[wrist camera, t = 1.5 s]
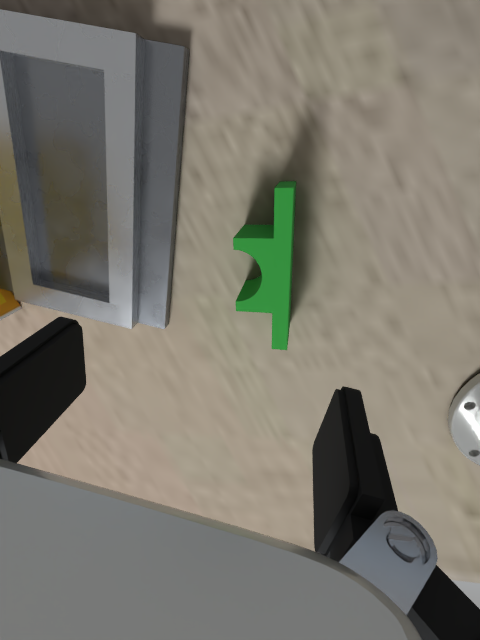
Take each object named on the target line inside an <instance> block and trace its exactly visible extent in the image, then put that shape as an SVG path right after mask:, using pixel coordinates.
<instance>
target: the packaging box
mask: <svg viewBox="0 0 480 640" xmlns="http://www.w3.org/2000/svg"><path fill="white" fill-rule="evenodd" d="M21 308H22V307H21V306H20V304H19V303H18V301H17V300H15V297H14V295H13V293H12V292H11V291H8V290H4V289H0V320H2V319H4V318H5V317H7V316H9V315H11V314H13V313H14V312H16V311H18V310H20V309H21Z"/></svg>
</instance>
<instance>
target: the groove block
mask: <svg viewBox="0 0 480 640" xmlns="http://www.w3.org/2000/svg"><path fill="white" fill-rule="evenodd" d="M188 64H189V50H188V49H187V48H186V47H184V46H179V45H174V44H168V43H162V42H157V41H151V40H146V39H144V38H142V37H141V36H139V35H138V34H136V33H132V32H126V31H120V30H115V29H109V28H103V27H98V26H92V25H86V24H81V23H75V22H69V21H64V20H58V19H52V18H47V17H41V16H35V15H30V14H24V13H18V12H13V11H7V10H1V9H0V289H4V290H8V291H12V292H14V297H15V300H18V301H22V302H26V303H30V304H34V305H38V306H42V307H46V308H50V309H54V310H58V311H62V312H66V313H70V314H74V315H78V316H82V317H86V318H90V319H94V320H98V321H102V322H106V323H110V324H114V325H118V326H122V327H126V328H130V329H132V328H133V327H134V326H135V325H136V324H137V323H142V324H146V325H150V326H154V327H158V328H162V329H165V328H166V327H167V325H168V324H169V312H170V299H171V286H172V273H173V260H174V247H175V234H176V221H177V208H178V195H179V182H180V169H181V156H182V142H183V129H184V116H185V103H186V90H187V77H188Z"/></svg>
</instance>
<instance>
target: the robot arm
mask: <svg viewBox="0 0 480 640" xmlns="http://www.w3.org/2000/svg"><path fill="white" fill-rule="evenodd" d="M85 386H86V374H85V360H84V346H83V333H82V327H81V326H80V325H79V323H78V322H77V321H76V320H73V319H69V318H65V317H58V318H56V319H55V320H54V321H52V322H51V323H49V324H48V325H46V326H45V327H43V328H42V329H40V330H39V331H37V332H36V333H34V334H33V335H31V336H30V337H29V338H27V339H26V340H24V341H23V342H21V343H20V344H18V345H17V346H15V347H14V348H12V349H11V350H9V351H8V352H6V353H5V354H3V355H2V356H1V357H0V640H480V609H479V608H478V607H477V606H476V605H475V604H474V603H473V602H472V601H471V600H470V599H469V598H468V597H467V596H466V595H465V594H464V593H463V592H462V591H461V590H460V589H459V588H458V587H457V586H456V585H455V584H454V583H453V582H452V581H451V579H450V578H449V577H448V576H447V575H446V574H445V573H444V572H443V571H442V570H441V569H440V568H439V567H438V566H437V565H436V563H437V550H436V547H435V545H434V542H433V540H432V538H431V537H430V535H429V534H428V532H427V531H426V530H425V529H424V528H423V527H422V526H421V525H420V523H419V522H417V521H416V520H414V519H413V518H412V517H410V516H409V515H406V514H404V513H402V512H399V511H398V509H397V505H396V501H395V497H394V493H393V489H392V485H391V481H390V477H389V473H388V470H387V466H386V462H385V458H384V454H383V450H382V446H381V442H380V439H379V437H378V436H377V435H376V434H372V433H370V430H369V426H368V421H367V417H366V413H365V408H364V404H363V399H362V395H361V392H360V390H356V389H352V388H348V387H342V388H341V390H338V389H336V390H335V392H334V394H333V397H332V399H331V402H330V404H329V407H328V409H327V412H326V414H325V417H324V419H323V422H322V424H321V426H320V429H319V431H318V434H317V436H316V439H315V441H314V445H313V453H312V454H313V500H314V546H315V551H316V552H314V551H311V550H309V549H306V548H303V547H300V546H298V545H295V544H292V543H289V542H286V541H282V540H279V539H276V538H273V537H270V536H266V535H263V534H260V533H257V532H254V531H250V530H247V529H244V528H241V527H237V526H234V525H230V524H227V523H223V522H220V521H217V520H213V519H210V518H206V517H203V516H199V515H196V514H193V513H189V512H186V511H182V510H179V509H175V508H172V507H169V506H165V505H162V504H158V503H155V502H151V501H148V500H144V499H141V498H137V497H134V496H130V495H127V494H123V493H120V492H116V491H113V490H109V489H106V488H102V487H99V486H95V485H92V484H88V483H85V482H81V481H78V480H74V479H71V478H67V477H64V476H60V475H56V474H53V473H49V472H46V471H42V470H38V469H35V468H31V467H28V466H24V465H21V464H17V462H18V461H19V460H20V459H21V458H22V457H23V456H24V455H25V454H26V452H27V451H28V450H29V449H30V448H31V447H32V446H33V445H34V444H35V443H36V442H37V441H38V439H39V438H40V437H41V436H42V435H43V434H44V433H45V432H46V431H47V430H48V429H49V428H50V426H51V425H52V424H53V423H54V422H55V421H56V420H57V419H58V418H59V417H60V416H61V414H62V413H63V412H64V411H65V410H66V409H67V408H68V407H69V406H70V405H71V404H72V403H73V401H74V400H75V399H76V398H77V397H78V396H79V395H80V394H81V393H82V392H83V390H84V388H85ZM448 426H449V431H450V433H451V436H452V438H453V440H454V442H455V444H456V445H457V447H458V449H459V450H460V451H461V452H462V453H463V454H464V456H465V457H467V458H468V459H470V460H471V461H473V462H474V463H476V464H477V465H480V373H479V374H478V375H476V376H475V377H473V378H472V379H471V380H470V381H469V382H468V383H467V384H466V385H465V386H463V387H462V388H461V390H460V391H459V392H458V394H457V395H456V397H455V398H454V400H453V402H452V404H451V407H450V409H449V415H448Z"/></svg>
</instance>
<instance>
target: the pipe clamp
mask: <svg viewBox="0 0 480 640" xmlns="http://www.w3.org/2000/svg"><path fill="white" fill-rule="evenodd" d="M295 196H296V181H286V182H279V183H278V185H277V186H276V187H275V188H274V225H244V226H243V227H242V228H241V229H240V231H239V232H238V233H237V234H236V235H235V237H234V238H233V245H234V250H241V251H244V252H246V253H248V254H249V255H251V256H252V257H253V258H254V259H255V260H256V261H257V263H258V264H259V267H260V269H261V273H262V275H260V276H259V277H258V278H255V279H252V280H246V281H245V283H244V285H243V287H242V289H241V292H240V294H239V296H238V298H237V300H236V311H246V312H265V313H272V349H280V350H287V345H288V336H289V327H290V310H291V287H292V264H293V241H294V219H295Z"/></svg>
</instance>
